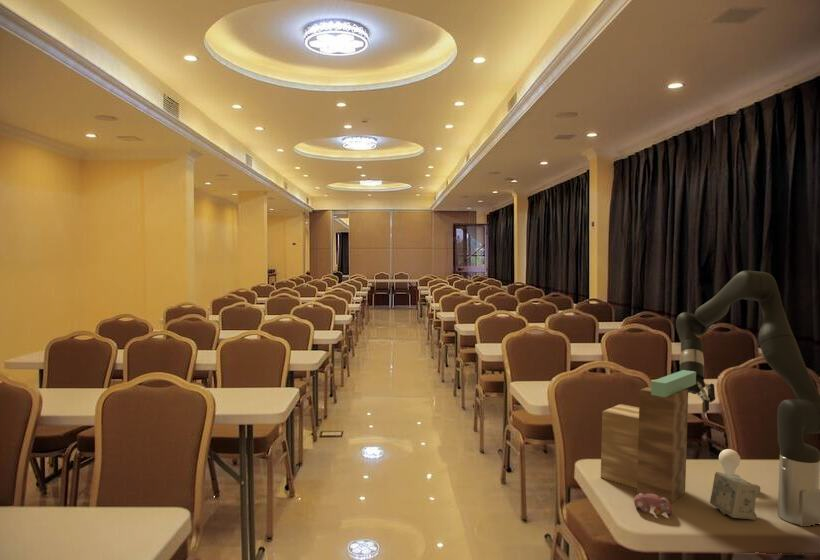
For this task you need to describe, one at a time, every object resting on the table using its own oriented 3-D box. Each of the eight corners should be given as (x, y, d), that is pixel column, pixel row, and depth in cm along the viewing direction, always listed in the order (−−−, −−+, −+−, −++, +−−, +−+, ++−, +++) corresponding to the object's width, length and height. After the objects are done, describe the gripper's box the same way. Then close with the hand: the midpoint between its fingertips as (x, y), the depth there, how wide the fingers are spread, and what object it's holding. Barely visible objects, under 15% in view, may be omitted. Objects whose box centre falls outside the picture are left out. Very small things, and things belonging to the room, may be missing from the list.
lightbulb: (734, 480, 190) (735, 447, 189) (743, 487, 184) (744, 453, 183) (714, 479, 190) (715, 446, 190) (722, 486, 184) (724, 452, 184)
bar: (682, 382, 188) (683, 369, 188) (695, 384, 186) (696, 371, 185) (651, 394, 170) (651, 381, 169) (665, 397, 167) (665, 383, 167)
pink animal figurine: (633, 515, 166) (632, 497, 163) (635, 503, 169) (634, 485, 166) (671, 523, 161) (671, 505, 158) (672, 510, 165) (672, 492, 162)
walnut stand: (652, 483, 186) (655, 384, 185) (685, 492, 179) (688, 389, 178) (636, 494, 177) (639, 389, 176) (670, 504, 170) (673, 395, 169)
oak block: (619, 467, 200) (620, 403, 200) (654, 476, 192) (656, 410, 191) (600, 477, 190) (602, 411, 189) (637, 488, 182) (638, 418, 181)
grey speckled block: (760, 520, 160) (761, 483, 160) (733, 522, 159) (734, 484, 159) (734, 505, 170) (736, 470, 170) (709, 507, 169) (710, 471, 168)
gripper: (674, 356, 199) (674, 400, 191) (718, 365, 198) (719, 410, 189) (666, 364, 206) (665, 407, 198) (708, 374, 204) (709, 417, 196)
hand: (691, 409), depth 194 cm, fingers open, 8 cm apart
